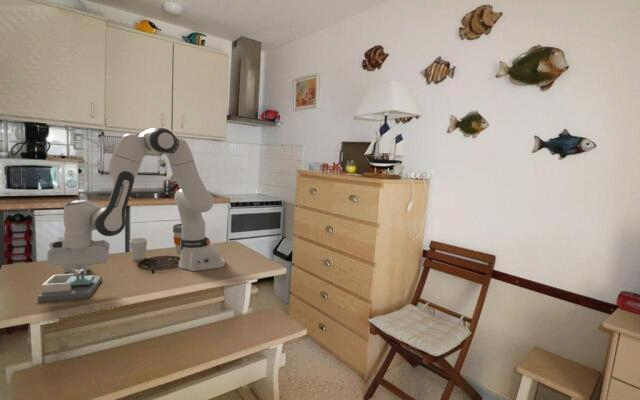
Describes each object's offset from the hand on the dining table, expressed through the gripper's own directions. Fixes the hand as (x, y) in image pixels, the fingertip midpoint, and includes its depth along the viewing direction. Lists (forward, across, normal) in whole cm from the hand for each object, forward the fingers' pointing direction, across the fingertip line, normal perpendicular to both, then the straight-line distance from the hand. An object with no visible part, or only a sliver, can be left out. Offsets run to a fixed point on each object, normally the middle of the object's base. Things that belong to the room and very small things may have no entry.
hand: (80, 274), depth 134 cm
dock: (+6, +3, 0) cm, 7 cm away
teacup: (+7, +7, -22) cm, 24 cm away
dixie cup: (+6, -15, -38) cm, 42 cm away
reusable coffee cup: (+6, -37, -47) cm, 60 cm away
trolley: (+4, 0, 0) cm, 4 cm away
